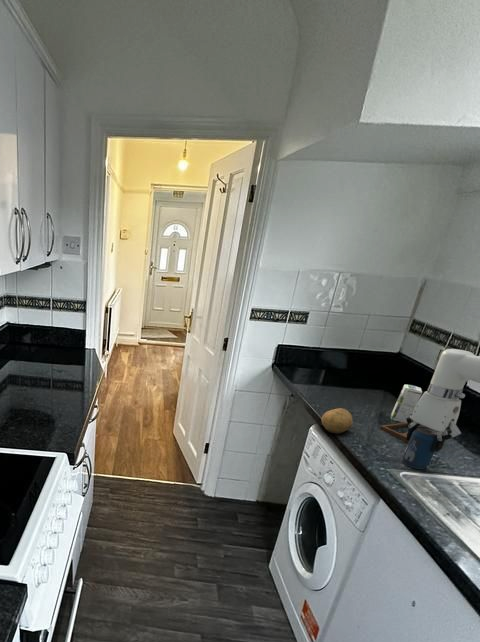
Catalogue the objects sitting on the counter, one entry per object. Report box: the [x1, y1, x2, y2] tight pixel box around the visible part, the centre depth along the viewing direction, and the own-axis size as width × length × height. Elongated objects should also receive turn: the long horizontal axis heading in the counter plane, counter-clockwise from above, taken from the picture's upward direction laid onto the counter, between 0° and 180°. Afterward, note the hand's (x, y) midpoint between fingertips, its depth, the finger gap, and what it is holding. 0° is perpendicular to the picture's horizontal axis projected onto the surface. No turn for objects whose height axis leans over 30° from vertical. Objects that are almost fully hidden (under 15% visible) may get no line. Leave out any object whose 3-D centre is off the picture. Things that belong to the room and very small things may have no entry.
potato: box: [321, 407, 354, 435], centre depth 151 cm, size 10×14×8 cm
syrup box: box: [390, 384, 423, 423], centre depth 162 cm, size 6×6×14 cm
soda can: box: [402, 426, 437, 470], centre depth 129 cm, size 7×7×12 cm
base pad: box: [379, 422, 409, 444], centre depth 151 cm, size 14×14×2 cm
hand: (422, 445), depth 129 cm, fingers closed on soda can, 7 cm apart
